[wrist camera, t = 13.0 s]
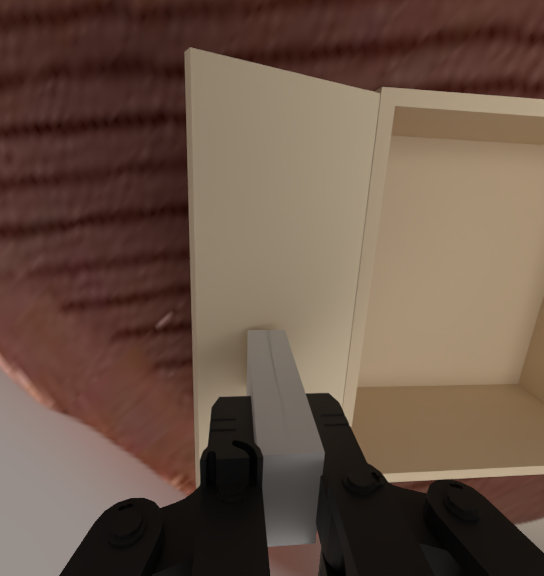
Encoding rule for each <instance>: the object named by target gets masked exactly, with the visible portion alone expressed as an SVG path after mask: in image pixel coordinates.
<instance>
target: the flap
mask: <svg viewBox="0 0 544 576" xmlns="http://www.w3.org/2000/svg"><path fill="white" fill-rule="evenodd" d="M184 54H185V91H186V128H187V166H188V203H189V240H190V277H191V315H192V352H193V389H194V426H195V463H196V489H197V488H198V487H199V486H200V458H201V455H202V453H203V451H204V450H205V449H206V447H207V446H208V438H209V428H210V418H211V408H212V406H213V405H214V403H215V402H216V401H217V399H218V398H219V397H229V396H247V393H246V381H247V334H248V330H285V332H286V335H287V338H288V342H289V345H290V348H291V351H292V354H293V357H294V360H295V363H296V366H297V369H298V372H299V375H300V378H301V381H302V384H303V387H304V390H305V393H329V394H330V395H331V396H333V397H334V398H335V399H336V400H337V401H338V402H339V403H340V405H341V407H342V404H343V396H344V387H345V379H346V371H347V363H348V355H349V347H350V339H351V330H352V322H353V314H354V306H355V298H356V290H357V281H358V273H359V265H360V257H361V249H362V241H363V233H364V224H365V216H366V208H367V200H368V192H369V184H370V175H371V167H372V159H373V151H374V143H375V135H376V126H377V118H378V110H379V102H380V94H381V93H377V92H373V91H368V90H364V89H360V88H356V87H352V86H348V85H344V84H340V83H335V82H331V81H327V80H323V79H319V78H315V77H311V76H306V75H302V74H298V73H294V72H290V71H286V70H282V69H278V68H273V67H269V66H265V65H261V64H257V63H253V62H249V61H245V60H240V59H236V58H232V57H228V56H224V55H220V54H216V53H212V52H207V51H203V50H199V49H195V48H191V47H190V48H189V49H187V50H186V51H185V52H184Z"/></svg>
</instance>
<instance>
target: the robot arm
mask: <svg viewBox="0 0 544 576" xmlns="http://www.w3.org/2000/svg"><path fill="white" fill-rule="evenodd" d="M246 393H247V396H229V397H219V398H218V399H217V401H216V402H215V403H214V405H213V406H212V408H211V418H210V428H209V438H208V446H207V447H206V449H205V450H204V451H203V453H202V455H201V458H200V486H199V487H198V488H197V489H196V490H195V491H194V492H193V493H192V494H191V495H189V496H188V497H186V498H185V499H183V500H181V501H179V502H176V503H174V504H171V505H168V506H165V507H162V508H159V507H158V505H157V504H156V503H155V502H153V501H151V500H148V499H145V498H130V499H127V500H124V501H121V502H118V503H116V504H115V505H113V506H112V507H110V508H109V509H107V510H106V511H104V513H103V514H102V515H101V516H100V517H99V518H98V519H97V521H95V523H94V524H93V526H92V527H91V529H90V530H89V532H88V533H87V535H86V536H85V538H84V539H83V541H82V542H81V544H80V545H79V547H78V548H77V550H76V551H75V553H74V554H73V556H72V557H71V559H70V560H69V562H68V563H67V565H66V566H65V568H64V569H63V571H62V572H61V574H60V575H59V576H270V569H269V558H268V547H269V546H284V545H298V544H309V543H315V541H316V532H317V530H318V534H319V539H320V543H321V555H320V564H319V573H318V576H544V553H543V552H542V551H541V550H540V549H539V548H538V547H537V546H536V545H535V544H534V543H533V542H531V541H530V540H529V539H528V538H527V537H526V536H525V535H524V534H523V533H522V532H521V531H520V530H519V529H518V528H517V527H516V526H515V525H514V524H512V523H511V522H510V521H509V520H508V519H507V518H506V517H505V516H504V515H503V514H502V513H501V512H500V511H499V510H498V509H497V508H496V507H495V506H493V505H492V504H491V503H490V502H489V501H488V500H487V499H486V498H485V497H484V496H483V495H481V494H480V493H479V492H477V491H476V490H475V489H473V488H472V487H470V486H468V485H465V484H463V483H461V482H458V481H454V480H449V479H444V480H437V481H435V482H433V483H432V484H430V486H429V489H428V491H427V494H426V493H422V492H417V491H413V490H408V489H404V488H401V487H397V486H394V485H392V484H390V483H388V481H387V480H386V478H385V477H384V476H383V474H382V473H381V472H380V471H379V470H378V469H376V468H375V467H374V466H372V465H370V464H368V463H367V461H366V459H365V457H364V455H363V452H362V450H361V448H360V446H359V444H358V442H357V440H356V437H355V435H354V433H353V431H352V429H351V427H350V426H349V422H348V420H347V418H346V416H345V414H344V412H343V409H342V407H341V405H340V403H339V402H338V401H337V400H336V399H335V398H334V397H333V396H331V395H330V394H329V393H305V390H304V387H303V384H302V381H301V378H300V375H299V372H298V369H297V366H296V363H295V360H294V357H293V354H292V351H291V348H290V345H289V342H288V338H287V335H286V332H285V330H248V334H247V381H246Z"/></svg>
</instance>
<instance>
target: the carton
mask: <svg viewBox="0 0 544 576" xmlns="http://www.w3.org/2000/svg"><path fill="white" fill-rule="evenodd" d="M374 92H377V93H381V94H380V102H379V110H378V118H377V126H376V135H375V143H374V151H373V159H372V167H371V175H370V184H369V192H368V200H367V208H366V216H365V224H364V233H363V241H362V249H361V257H360V265H359V273H358V281H357V290H356V298H355V306H354V314H353V322H352V330H351V339H350V347H349V355H348V363H347V371H346V379H345V387H344V396H343V404H342V409H343V412H344V414H345V416H346V418H347V420H348V422H349V426H350V427H351V429H352V431H353V433H354V435H355V437H356V440H357V442H358V444H359V446H360V448H361V450H362V452H363V455H364V457H365V459H366V461H367V463H368V464H370V465H372V466H374V467H375V468H376V469H378V470H379V471H380V472H381V473H382V474H383V476H384V477H385V478H386V480H387V481H388V482H403V481H421V480H440V479H459V478H478V477H497V476H515V475H534V474H544V100H543V99H530V98H518V97H505V96H492V95H479V94H467V93H454V92H441V91H429V90H416V89H403V88H390V87H381V88H379V89H378V90H376V91H374Z"/></svg>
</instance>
